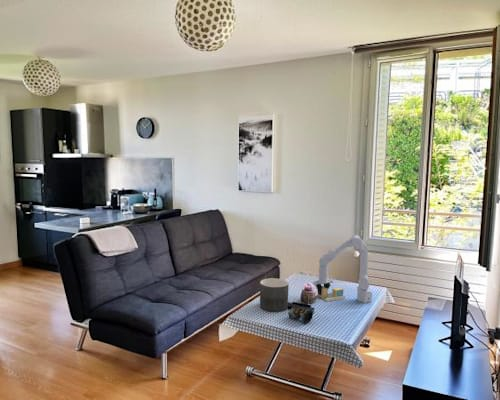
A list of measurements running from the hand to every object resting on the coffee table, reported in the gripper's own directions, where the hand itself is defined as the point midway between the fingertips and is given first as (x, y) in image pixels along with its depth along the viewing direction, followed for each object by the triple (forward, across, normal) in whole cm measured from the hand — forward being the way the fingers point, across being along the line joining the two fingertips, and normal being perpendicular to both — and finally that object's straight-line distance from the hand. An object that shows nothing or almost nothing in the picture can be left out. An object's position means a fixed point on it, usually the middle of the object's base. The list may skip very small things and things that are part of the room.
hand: (322, 294), depth 260 cm
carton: (+1, 0, 0) cm, 1 cm away
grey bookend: (+3, -4, +3) cm, 6 cm away
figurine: (+3, +34, +26) cm, 42 cm away
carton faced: (+1, -8, +6) cm, 10 cm away
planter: (+3, +38, +2) cm, 38 cm away
